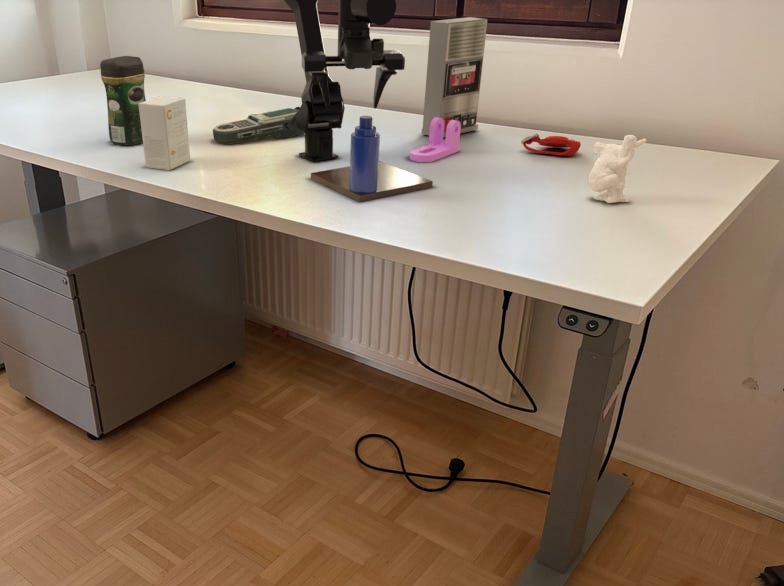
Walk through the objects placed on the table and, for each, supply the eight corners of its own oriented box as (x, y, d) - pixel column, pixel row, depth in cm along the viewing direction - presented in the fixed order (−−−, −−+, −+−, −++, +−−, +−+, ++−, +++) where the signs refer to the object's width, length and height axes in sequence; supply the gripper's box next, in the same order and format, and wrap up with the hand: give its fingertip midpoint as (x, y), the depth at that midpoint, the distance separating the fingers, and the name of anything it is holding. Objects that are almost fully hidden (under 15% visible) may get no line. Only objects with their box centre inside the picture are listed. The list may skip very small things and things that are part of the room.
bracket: (436, 147, 168) (439, 115, 165) (458, 151, 165) (461, 119, 162) (404, 159, 160) (406, 126, 156) (426, 163, 157) (429, 130, 153)
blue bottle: (343, 187, 138) (345, 115, 132) (366, 183, 141) (369, 112, 134) (359, 195, 135) (362, 121, 128) (383, 190, 137) (386, 118, 130)
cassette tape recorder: (440, 139, 175) (450, 23, 162) (421, 134, 179) (429, 21, 166) (478, 130, 182) (491, 19, 170) (459, 126, 186) (470, 17, 174)
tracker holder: (556, 139, 170) (591, 137, 161) (553, 159, 171) (588, 158, 162) (517, 132, 164) (551, 130, 155) (514, 153, 165) (548, 152, 156)
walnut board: (310, 179, 147) (310, 173, 147) (379, 166, 155) (380, 160, 154) (359, 202, 135) (359, 195, 134) (432, 187, 142) (432, 181, 142)
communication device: (204, 137, 178) (201, 99, 173) (293, 125, 187) (292, 89, 183) (223, 148, 169) (220, 108, 164) (315, 135, 178) (315, 97, 173)
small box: (166, 157, 161) (160, 95, 155) (191, 161, 159) (186, 97, 153) (144, 167, 155) (137, 102, 148) (170, 170, 153) (164, 105, 146)
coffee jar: (134, 134, 180) (125, 52, 170) (157, 139, 175) (149, 55, 166) (103, 143, 173) (91, 57, 163) (127, 148, 169) (116, 61, 159)
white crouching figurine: (638, 200, 135) (653, 133, 129) (623, 210, 131) (639, 140, 125) (592, 191, 140) (605, 126, 134) (577, 200, 135) (590, 133, 129)
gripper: (307, 25, 127) (307, 119, 135) (414, 24, 129) (408, 116, 137) (301, 19, 137) (301, 106, 145) (400, 17, 139) (395, 104, 146)
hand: (351, 108), depth 143 cm, fingers open, 9 cm apart
